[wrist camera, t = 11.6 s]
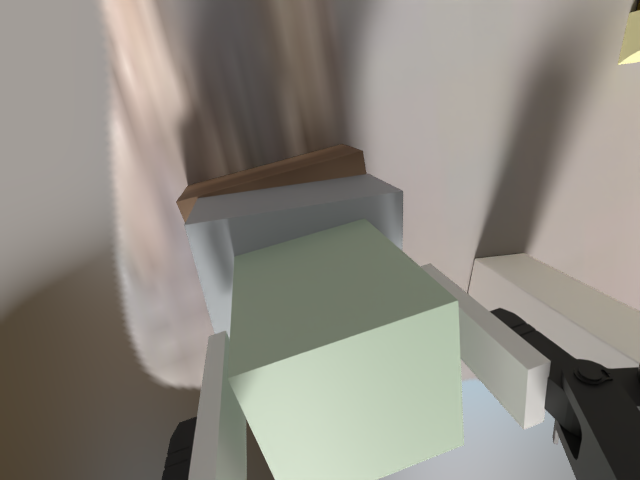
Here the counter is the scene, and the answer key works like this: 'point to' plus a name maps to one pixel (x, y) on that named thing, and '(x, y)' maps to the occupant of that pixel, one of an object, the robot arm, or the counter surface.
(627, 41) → the slatted curved stool
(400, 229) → the tower top
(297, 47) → the counter surface
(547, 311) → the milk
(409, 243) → the counter surface
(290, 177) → the tower base
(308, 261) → the sage block
